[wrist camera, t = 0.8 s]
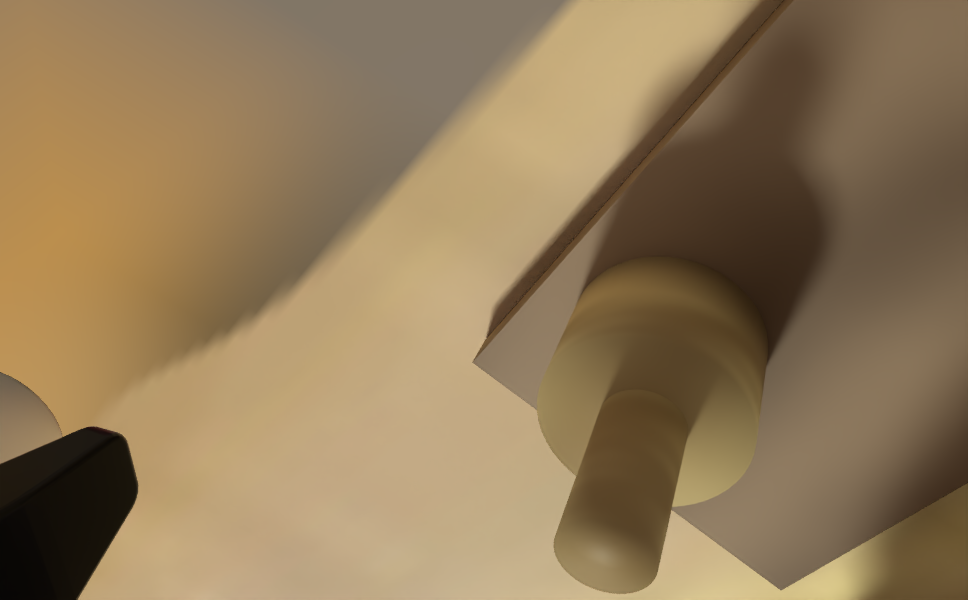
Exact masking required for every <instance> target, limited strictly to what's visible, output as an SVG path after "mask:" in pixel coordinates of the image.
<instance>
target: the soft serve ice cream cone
mask: <svg viewBox="0 0 968 600" xmlns="http://www.w3.org/2000/svg"><path fill="white" fill-rule="evenodd" d="M59 438H62V433H61V430H60V427H59V425H58V422H57V421H56V419H55V417H54V415H53V414H52V412H51V411H50V410H49V409H48V407H47V405H46V404H45V403H44V402H43V401H42V400H41V399H40V398H39V397H38V396H37V395H36V394H35V393H34V392H32V391H31V390H30V389H29V388H28V387H26V386H25V385H23V384H22V383H21V382H19V381H18V380H16V379H14V378H12V377H10V376H8V375H6V374H3V373H1V372H0V464H1V463H3V462H6V461H8V460H10V459H13V458H15V457H17V456H20V455H22V454H24V453H27V452H29V451H31V450H34V449H36V448H38V447H41V446H43V445H45V444H48V443H50V442H52V441H55V440H57V439H59Z"/></svg>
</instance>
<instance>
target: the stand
mask: <svg viewBox="0 0 968 600" xmlns="http://www.w3.org/2000/svg"><path fill="white" fill-rule="evenodd" d="M472 363H474V364H475V365H477V366H478V367H479V368H481V369H482V370H483V371H485V372H486V373H487V374H489V375H490V376H491V377H493V378H494V379H495V380H497V381H498V382H500V383H501V384H502V385H504V386H505V387H506V388H508V389H509V390H510V391H512V392H513V393H514V394H516V395H517V396H519V397H520V398H521V399H523V400H524V401H525V402H527V403H528V404H529V405H531V406H532V407H533V408H535V409H536V410H537V414H538V420H539V424H540V427H541V430H542V433H543V435H544V437H545V439H546V442H547V443H548V445H549V446H550V448H551V450H552V451H553V453H554V454H555V455H556V456H557V458H558V459H559V460H560V461H561V462H562V463H563V464H564V465H565V466H566V467H567V468H568V469H569V470H570V471H571V472H572V473H573V474H575V475H576V479H575V482H574V484H573V487H572V490H571V493H570V496H569V499H568V501H567V504H566V507H565V510H564V513H563V516H562V518H561V521H560V524H559V527H558V530H557V533H556V535H555V539H554V552H555V555H556V557H557V559H558V561H559V563H560V564H561V566H562V567H563V568H564V569H565V570H566V571H567V572H568V573H569V574H570V575H571V576H572V577H573V578H575V579H576V580H578V581H579V582H581V583H583V584H584V585H586V586H589V587H591V588H593V589H596V590H599V591H603V592H608V593H616V594H626V593H633V592H637V591H639V590H642V589H644V588H646V587H647V586H648V585H650V584H651V583H652V582H653V580H654V579H655V577H656V575H657V572H658V568H659V563H660V559H661V554H662V550H663V545H664V541H665V536H666V532H667V527H668V523H669V518H670V514H671V510H673V511H674V512H676V513H677V514H678V515H680V516H681V517H682V518H684V519H685V520H686V521H688V522H689V523H690V524H692V525H693V526H694V527H696V528H697V529H699V530H700V531H701V532H703V533H704V534H705V535H707V536H708V537H709V538H711V539H712V540H713V541H715V542H716V543H718V544H719V545H720V546H722V547H723V548H724V549H726V550H727V551H728V552H730V553H731V554H732V555H734V556H735V557H736V558H738V559H739V560H741V561H742V562H743V563H745V564H746V565H747V566H749V567H750V568H751V569H753V570H754V571H755V572H757V573H758V574H759V575H761V576H762V577H764V578H765V579H766V580H768V581H769V582H770V583H772V584H773V585H774V586H776V587H777V588H778V589H780V590H783V589H784V588H786V587H788V586H790V585H791V584H793V583H795V582H796V581H798V580H800V579H802V578H803V577H805V576H807V575H809V574H810V573H812V572H814V571H816V570H817V569H819V568H821V567H822V566H824V565H826V564H828V563H829V562H831V561H833V560H835V559H836V558H838V557H840V556H842V555H843V554H845V553H847V552H849V551H850V550H852V549H854V548H855V547H857V546H859V545H861V544H862V543H864V542H866V541H868V540H869V539H871V538H873V537H875V536H876V535H878V534H880V533H881V532H883V531H885V530H887V529H888V528H890V527H892V526H894V525H895V524H897V523H899V522H901V521H902V520H904V519H906V518H908V517H909V516H911V515H913V514H914V513H916V512H918V511H920V510H921V509H923V508H925V507H927V506H928V505H930V504H932V503H934V502H935V501H937V500H939V499H940V498H942V497H944V496H946V495H947V494H949V493H951V492H953V491H954V490H956V489H958V488H960V487H961V486H963V485H965V484H967V483H968V0H784V1H783V2H782V3H781V4H780V5H779V6H778V8H777V9H776V10H775V11H774V12H773V13H772V14H771V15H770V17H769V18H768V19H767V20H766V21H765V22H764V23H763V25H762V26H761V27H760V28H759V29H758V30H757V31H756V33H755V34H754V35H753V36H752V37H751V38H750V39H749V41H748V42H747V43H746V44H745V45H744V46H743V47H742V48H741V50H740V51H739V52H738V53H737V54H736V55H735V56H734V58H733V59H732V60H731V61H730V62H729V63H728V64H727V66H726V67H725V68H724V69H723V70H722V71H721V72H720V73H719V75H718V76H717V77H716V78H715V79H714V80H713V81H712V83H711V84H710V85H709V86H708V87H707V88H706V89H705V91H704V92H703V93H702V94H701V95H700V96H699V97H698V99H697V100H696V101H695V102H694V103H693V104H692V105H691V106H690V108H689V109H688V110H687V111H686V112H685V113H684V114H683V116H682V117H681V118H680V119H679V120H678V121H677V122H676V124H675V125H674V126H673V127H672V128H671V129H670V130H669V132H668V133H667V134H666V135H665V136H664V137H663V138H662V139H661V141H660V142H659V143H658V144H657V145H656V146H655V147H654V149H653V150H652V151H651V152H650V153H649V154H648V155H647V157H646V158H645V159H644V160H643V161H642V162H641V163H640V165H639V166H638V167H637V168H636V169H635V170H634V171H633V172H632V174H631V175H630V176H629V177H628V178H627V179H626V180H625V182H624V183H623V184H622V185H621V186H620V187H619V188H618V190H617V191H616V192H615V193H614V194H613V195H612V196H611V198H610V199H609V200H608V201H607V202H606V203H605V204H604V205H603V207H602V208H601V209H600V210H599V211H598V212H597V213H596V215H595V216H594V217H593V218H592V219H591V220H590V221H589V223H588V224H587V225H586V226H585V227H584V228H583V229H582V231H581V232H580V233H579V234H578V235H577V236H576V237H575V238H574V240H573V241H572V242H571V243H570V244H569V245H568V246H567V248H566V249H565V250H564V251H563V252H562V253H561V254H560V256H559V257H558V258H557V259H556V260H555V261H554V262H553V264H552V265H551V266H550V267H549V268H548V269H547V270H546V271H545V273H544V274H543V275H542V276H541V277H540V278H539V279H538V281H537V282H536V283H535V284H534V285H533V286H532V287H531V289H530V290H529V291H528V292H527V293H526V294H525V295H524V297H523V298H522V299H521V300H520V301H519V302H518V303H517V304H516V306H515V307H514V308H513V309H512V310H511V311H510V312H509V314H508V315H507V316H506V317H505V318H504V319H503V320H502V322H501V323H500V324H499V325H498V326H497V327H496V328H495V330H494V331H493V332H492V333H491V334H490V335H489V336H488V337H487V339H486V340H485V341H484V343H483V345H482V347H481V348H480V350H479V352H478V354H477V355H476V357H475V359H474V361H473V362H472Z"/></svg>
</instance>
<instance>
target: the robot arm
mask: <svg viewBox="0 0 968 600" xmlns="http://www.w3.org/2000/svg"><path fill="white" fill-rule="evenodd" d="M137 494H138V481H137V477H136V473H135V469H134V465H133V461H132V457H131V453H130V450H129V446H128V443H127V440H126V438H125V437H124V436H123V435H122V434H120V433H117V432H114V431H110V430H107V429H103V428H100V427H86V428H83V429H80V430H78V431H76V432H73V433H71V434H69V435H66V436H64V437H62V438H59V439H57V440H55V441H52V442H50V443H48V444H45V445H43V446H41V447H38V448H36V449H34V450H31V451H29V452H27V453H24V454H22V455H20V456H17V457H15V458H13V459H10V460H8V461H6V462H3V463H1V464H0V600H78V598H79V596H80V595H81V593H82V591H83V590H84V588H85V586H86V585H87V583H88V581H89V579H90V578H91V576H92V574H93V573H94V571H95V569H96V568H97V566H98V564H99V563H100V561H101V559H102V558H103V556H104V554H105V553H106V551H107V549H108V548H109V546H110V544H111V543H112V541H113V539H114V538H115V536H116V534H117V533H118V531H119V529H120V528H121V526H122V524H123V523H124V521H125V519H126V518H127V516H128V514H129V513H130V511H131V509H132V507H133V505H134V503H135V501H136V498H137Z"/></svg>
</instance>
